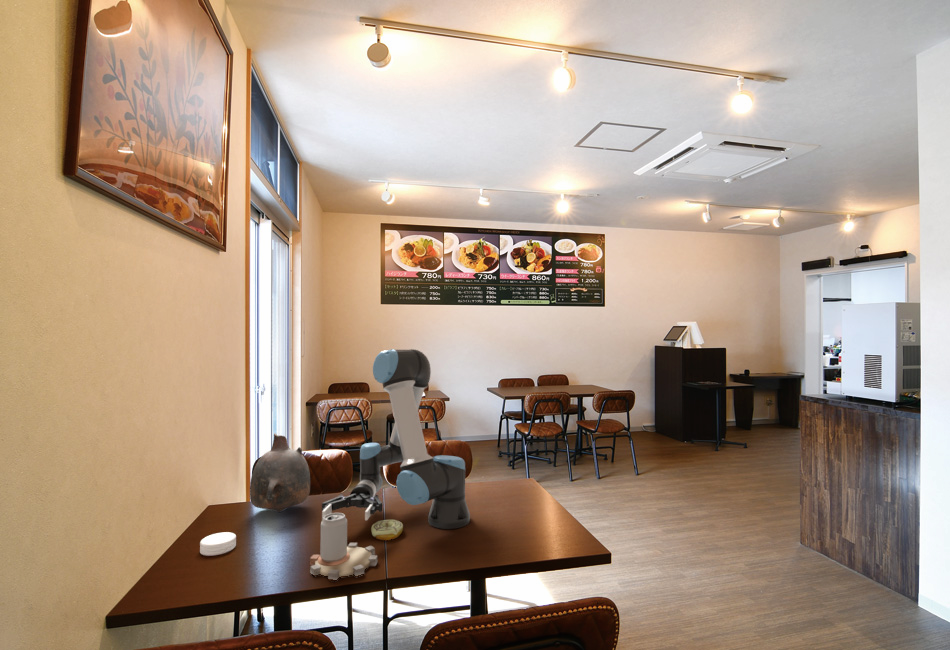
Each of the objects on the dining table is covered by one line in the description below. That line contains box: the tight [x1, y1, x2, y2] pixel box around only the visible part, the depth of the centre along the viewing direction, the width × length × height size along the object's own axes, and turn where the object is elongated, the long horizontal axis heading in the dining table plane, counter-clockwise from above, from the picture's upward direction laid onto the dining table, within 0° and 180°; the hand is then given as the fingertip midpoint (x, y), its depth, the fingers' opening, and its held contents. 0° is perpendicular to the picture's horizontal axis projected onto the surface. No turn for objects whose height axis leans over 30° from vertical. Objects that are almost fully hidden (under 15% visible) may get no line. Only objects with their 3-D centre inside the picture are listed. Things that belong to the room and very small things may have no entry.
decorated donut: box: [370, 519, 404, 541], centre depth 154 cm, size 10×11×4 cm
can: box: [319, 512, 348, 562], centre depth 134 cm, size 8×8×12 cm
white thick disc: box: [199, 531, 237, 557], centre depth 144 cm, size 10×10×4 cm
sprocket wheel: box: [309, 542, 378, 581], centre depth 133 cm, size 19×19×2 cm
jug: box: [249, 432, 311, 513], centre depth 176 cm, size 24×21×30 cm
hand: (344, 515), depth 143 cm, fingers open, 13 cm apart
